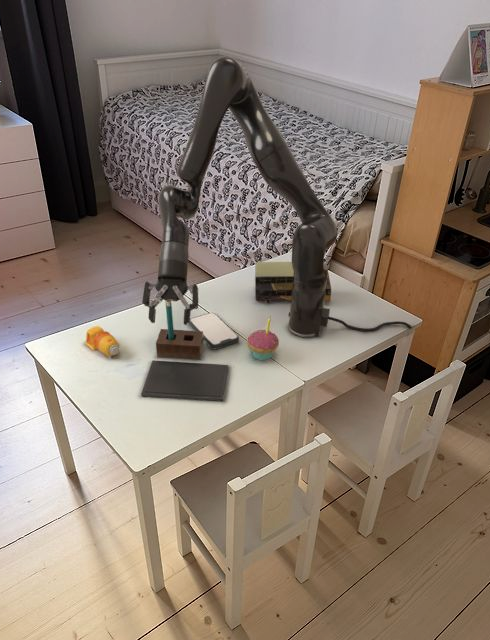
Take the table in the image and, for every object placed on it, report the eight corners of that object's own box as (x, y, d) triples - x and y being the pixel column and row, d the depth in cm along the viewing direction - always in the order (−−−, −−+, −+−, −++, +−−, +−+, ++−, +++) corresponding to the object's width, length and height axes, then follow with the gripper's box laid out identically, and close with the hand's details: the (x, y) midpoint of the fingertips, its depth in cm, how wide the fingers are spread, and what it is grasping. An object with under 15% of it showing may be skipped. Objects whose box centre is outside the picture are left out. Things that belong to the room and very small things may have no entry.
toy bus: (330, 305, 167) (332, 276, 161) (255, 305, 168) (255, 276, 161) (327, 288, 175) (329, 260, 169) (255, 289, 175) (255, 261, 169)
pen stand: (203, 344, 150) (203, 331, 147) (200, 359, 144) (199, 346, 141) (162, 342, 150) (160, 328, 147) (157, 357, 145) (155, 343, 142)
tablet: (228, 367, 142) (227, 364, 142) (222, 401, 132) (222, 398, 131) (152, 362, 143) (152, 359, 142) (141, 396, 132) (141, 393, 132)
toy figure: (125, 355, 145) (101, 336, 151) (123, 338, 141) (98, 319, 148) (108, 363, 142) (84, 343, 148) (105, 347, 138) (80, 326, 145)
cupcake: (264, 342, 151) (266, 306, 144) (284, 357, 146) (287, 320, 139) (240, 353, 147) (241, 316, 139) (260, 369, 142) (261, 331, 134)
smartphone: (187, 323, 158) (212, 351, 147) (186, 319, 157) (212, 346, 146) (214, 315, 162) (240, 342, 151) (213, 311, 161) (240, 337, 150)
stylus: (175, 349, 148) (171, 299, 138) (174, 352, 147) (170, 302, 137) (170, 348, 148) (166, 299, 138) (169, 351, 147) (164, 302, 137)
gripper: (202, 268, 145) (197, 327, 144) (149, 265, 145) (144, 324, 144) (198, 259, 138) (194, 322, 136) (143, 256, 138) (138, 318, 136)
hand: (168, 323), depth 140 cm, fingers open, 8 cm apart
